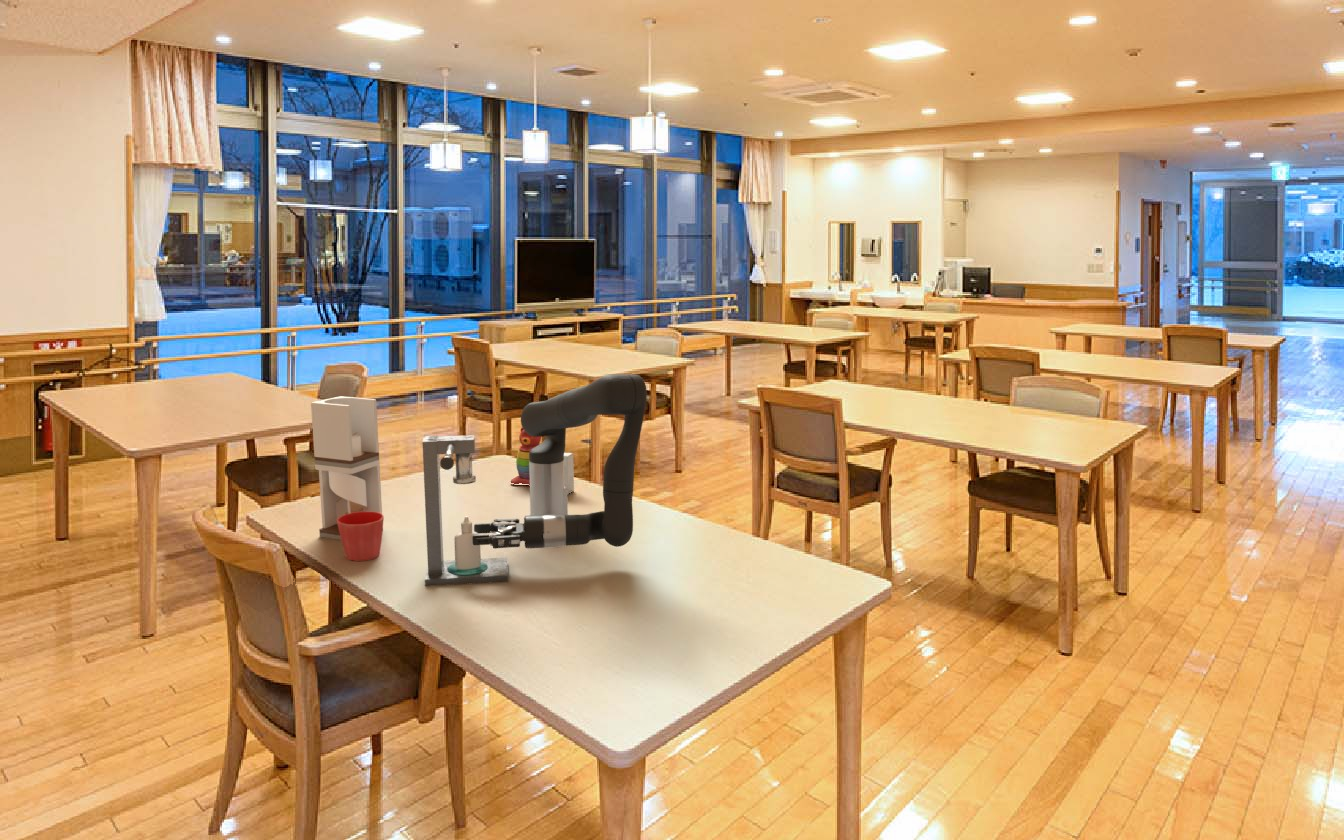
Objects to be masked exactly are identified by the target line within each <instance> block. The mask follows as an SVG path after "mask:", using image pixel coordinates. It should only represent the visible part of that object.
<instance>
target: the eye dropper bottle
mask: <svg viewBox="0 0 1344 840" xmlns="http://www.w3.org/2000/svg"><path fill="white" fill-rule="evenodd" d="M460 525H461V527H460V528H461V531H460V532H458V533H456V534H455V535H454V539H453V540H454V560H455V566H456V568H457V569H459V570H467V569H474V568H478V567H480V566H481V559H482V558H481V557H482V555H481V545H473V539H472V538H473V535H480V534H478V533H477V532H474V530H473V522H472V521H470V519H469V516H467V515H466V516H464V520H463V521H462V522H460Z"/></svg>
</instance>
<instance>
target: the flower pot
mask: <svg viewBox="0 0 1344 840" xmlns="http://www.w3.org/2000/svg"><path fill="white" fill-rule="evenodd" d="M384 518H385V517H384V515H383V513H382V514H381V513H378V512H371V511H364V512H354V513H349V514H346V515H343V516H341V517H339V518H338V519H337V524H338V528H339V532H340V536H341V540H340V541H341V543H342V547H343V552H344V554H345V558H346V559H347V560H349V561H353V562H363V561H369V560H373V559H376V558H378V557H379V555H380V554H381V553H380V552H381V546H382V541H383V540H382V538H383V531H384ZM382 530H383V531H382Z"/></svg>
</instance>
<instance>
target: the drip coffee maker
mask: <svg viewBox="0 0 1344 840" xmlns="http://www.w3.org/2000/svg"><path fill="white" fill-rule="evenodd" d="M310 408H311V409H310V410H311V424H312V438H313V439H312V440H313V453H314V454H313V455H314V467H315V468H314V469H315V470H317V471H318V477H319V478H318V480H319V481H318V482H319V492H320V493H319V496H320V510H321V524H322V525H321V526H322V527H321V528H319V530H318V531H319V537H320V538H324V537H325V538H324V539H330V538H331V539H332V540H336V541H337V540H338V541H342V540H341V536H340V532H339V528H338V524H337V519H338V518H339V517H341V516H343V515H346V514H349V513H354V512H364V511H371V512H378V513H381V514H382V515H383V503H382V502H383V501H382V486H381V484H382V483H381V466H380V464H381V463H380V451H379V450H380V449H379V448H380V447H379V446H380V445H379V432H378V410H377V399H375V398H367V397H366V398H364V397H353V396H342V395H339V396H335V397H330V398H326V399H322V400H317V401H313V402H310ZM383 531H384V529H383V530H382V532H383Z"/></svg>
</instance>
